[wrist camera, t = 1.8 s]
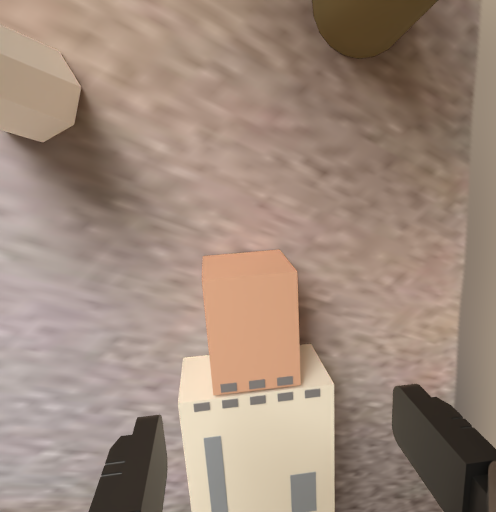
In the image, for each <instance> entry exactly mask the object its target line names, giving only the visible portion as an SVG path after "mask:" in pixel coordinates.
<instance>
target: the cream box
mask: <svg viewBox="0 0 496 512" xmlns="http://www.w3.org/2000/svg"><path fill="white" fill-rule="evenodd" d="M300 379H301V385H296V386H288V387H280V388H271V389H263V390H255V391H246V392H238V393H230V394H221V395H213V388H212V378H211V368H210V358H209V355H204V356H195V357H186V358H183V364H182V373H181V381H180V390H179V399H178V408H179V416H180V423H181V431H182V439H183V447H184V455H185V463H186V470H187V478H188V486H189V494H190V502H191V510H192V512H335V492H334V383H333V382H332V380H331V378H330V376H329V375H328V373H327V371H326V369H325V368H324V366H323V364H322V362H321V360H320V359H319V357H318V355H317V353H316V352H315V350H314V348H313V346H312V345H311V344H303V345H300Z"/></svg>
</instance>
